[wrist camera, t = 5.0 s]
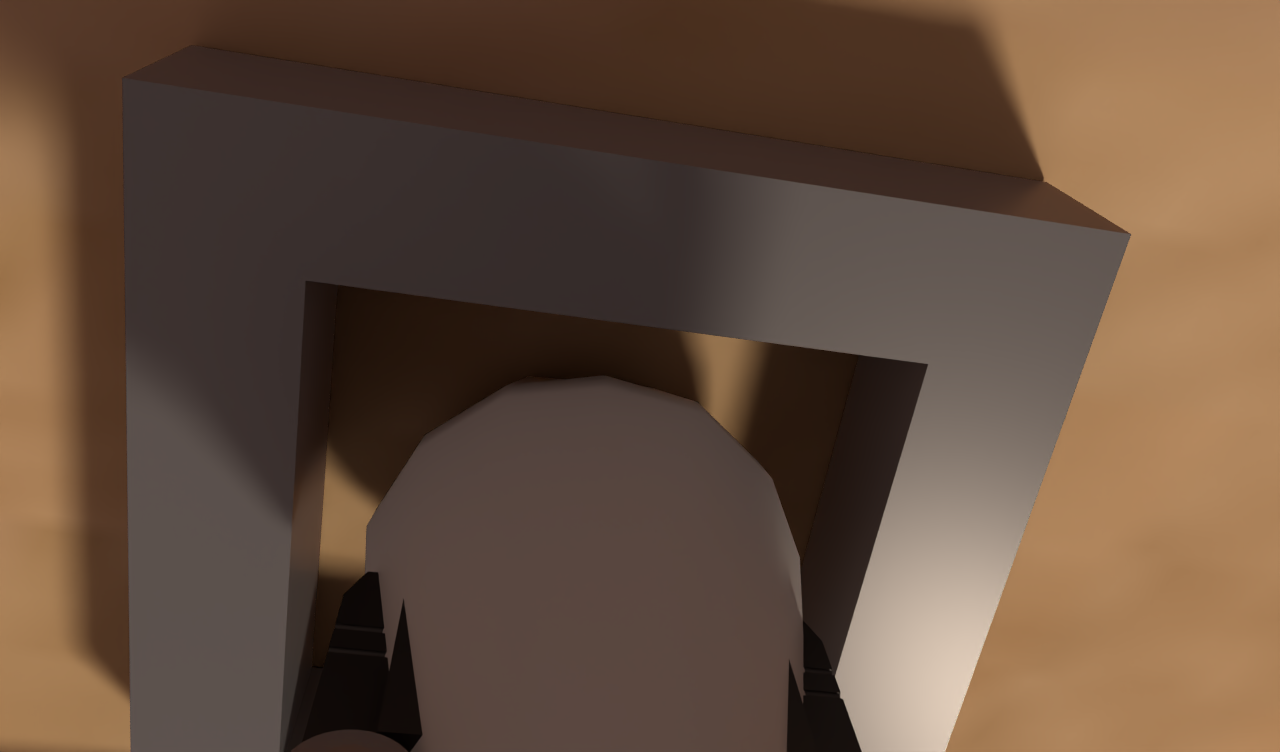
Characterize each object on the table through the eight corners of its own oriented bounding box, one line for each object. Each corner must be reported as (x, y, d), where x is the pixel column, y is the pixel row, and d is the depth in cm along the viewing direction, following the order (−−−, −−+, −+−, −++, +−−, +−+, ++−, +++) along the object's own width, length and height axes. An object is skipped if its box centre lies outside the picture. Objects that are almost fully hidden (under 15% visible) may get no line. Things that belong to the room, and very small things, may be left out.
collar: (191, 45, 14) (122, 78, 12) (1047, 181, 16) (1131, 234, 13) (182, 752, 19) (131, 874, 16) (846, 803, 20) (883, 920, 18)
